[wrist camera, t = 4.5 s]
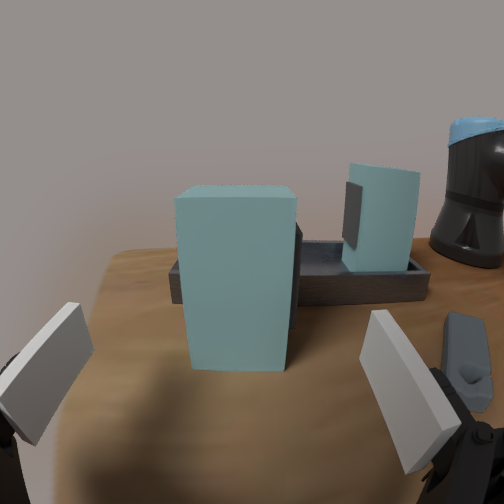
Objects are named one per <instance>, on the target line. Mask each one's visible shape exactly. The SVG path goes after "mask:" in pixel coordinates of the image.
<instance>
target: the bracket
mask: <svg viewBox="0 0 504 504" xmlns="http://www.w3.org/2000/svg"><path fill="white" fill-rule="evenodd" d="M441 372H442V373H444V374H445V375H446V377H447V378H448V379H449V381H450V382H451V384H452V385H451V386H453V387H454V388H455V390H456V391H457V392H456V393H457V394H458V395H459V396H460V398H461V399H462V401H463V402H464V404H465V405H466V407H467V409H468V410H469V411H474V412H479V413H482V412H484V410H485V409H486V408H487V406H488V405H489V403H490V402H491V400H492V399H493V383H492V377H489V375H490V373H491V363H490V355H489V348H488V342H487V336H486V331H485V325H484V321H483V319H480V318H476V317H472V316H468V315H464V314H460V313H456V312H452V311H451V312H449V313H448V316H447V319H446V321H445V324H444V341H443V355H442V366H441ZM466 382H467V383H466ZM468 383H469V384H468Z"/></svg>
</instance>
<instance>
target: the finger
mask: <svg viewBox="0 0 504 504" xmlns="http://www.w3.org/2000/svg"><path fill="white" fill-rule="evenodd" d="M174 203H175V220H176V235H177V249H178V260H179V271H180V281H181V291H182V299H183V308H184V316H185V324H186V331H187V338H188V345H189V352H190V358H191V365H192V369H197V370H214V371H239V372H284V369H285V359H286V349H287V339H288V329H295V322H296V312H297V302H298V290H299V278H300V266H301V252H302V237H303V233H302V232H301V230H300V228H299V226H298V225H297V223H296V207H297V198H296V196H295V195H294V194H293V193H292V192H291V191H290V190H289V189H288V188H287V186H271V185H269V186H268V185H205V186H193V187H192V188H190V189H188V190H187V191H185V192H183V193H182V194H180V195H178V196H177V197H175V198H174Z"/></svg>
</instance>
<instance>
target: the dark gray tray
mask: <svg viewBox="0 0 504 504" xmlns="http://www.w3.org/2000/svg"><path fill="white" fill-rule="evenodd" d="M343 244H344V241H317V240H314V241H313V240H302V252H301V266H300V278H299V290H298V302H297V306H312V305H349V304H373V303H391V302H407V301H421V300H424V298H425V294H426V290H427V287H428V283H429V279H430V275H431V273H429V272H428V271H427V270H426V269H424V268H423V267H422V266H421V265H420V264H418V263H417V262H416V261H415V260H413V259H412V258H411V257H409V262H408V267H407V271H362V272H350V271H349V269H348V268H347V267H346V265H345V264H344V263H343V261H342V253H343ZM169 282H170V290H171V298H172V303H179V304H183V299H182V291H181V281H180V271H179V260H177V261H176V263H175V264H174V266H173V267H172V269H171V270H170V272H169Z"/></svg>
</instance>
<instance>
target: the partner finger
mask: <svg viewBox="0 0 504 504" xmlns="http://www.w3.org/2000/svg"><path fill="white" fill-rule="evenodd" d="M419 186H420V173H419V172H414V171H408V170H404V169H397V168H391V167H383V166H374V165H365V164H355V163H350V170H349V182H346V197H345V210H344V223H343V232H342V237H343V238H344V244H343V253H342V261H343V263H344V264H345V265H346V267H347V268H348V269H349V271H350V272H362V271H407V267H408V262H409V257H410V252H411V246H412V240H413V234H414V227H415V220H416V213H417V204H418V196H419V195H418V194H419Z"/></svg>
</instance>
